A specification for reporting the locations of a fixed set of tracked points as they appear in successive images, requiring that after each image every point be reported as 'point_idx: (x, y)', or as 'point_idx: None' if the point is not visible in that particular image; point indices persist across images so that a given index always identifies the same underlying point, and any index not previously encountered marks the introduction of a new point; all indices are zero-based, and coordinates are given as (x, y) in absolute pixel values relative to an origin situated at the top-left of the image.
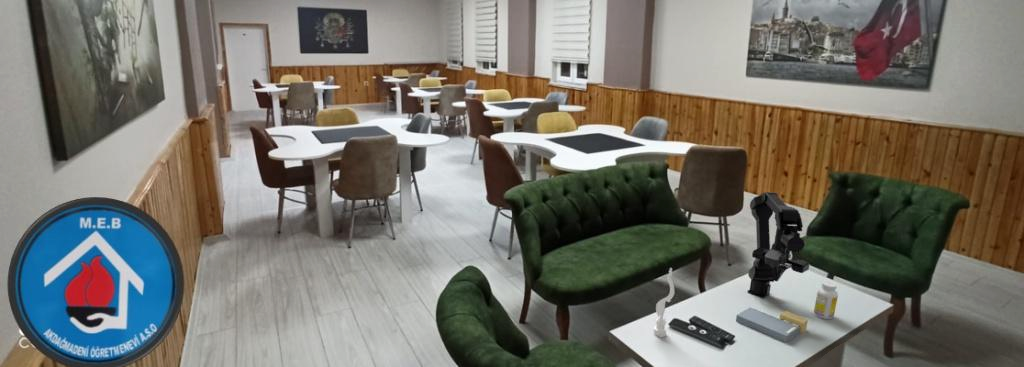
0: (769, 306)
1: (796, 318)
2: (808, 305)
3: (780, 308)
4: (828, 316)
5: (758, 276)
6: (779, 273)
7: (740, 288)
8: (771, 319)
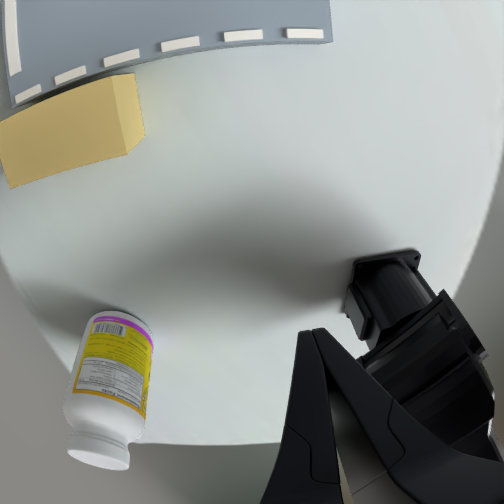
0: (291, 216)
1: (32, 134)
2: (200, 351)
3: (245, 245)
4: (85, 328)
5: (439, 319)
6: (297, 442)
7: (443, 256)
8: (138, 9)
